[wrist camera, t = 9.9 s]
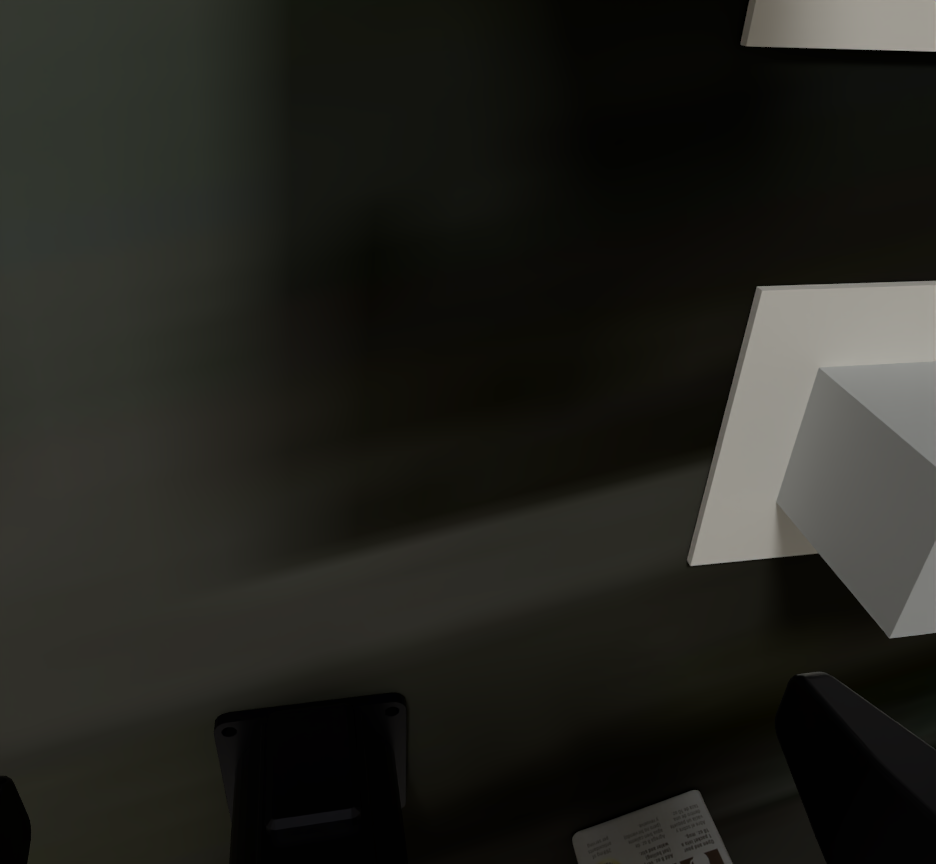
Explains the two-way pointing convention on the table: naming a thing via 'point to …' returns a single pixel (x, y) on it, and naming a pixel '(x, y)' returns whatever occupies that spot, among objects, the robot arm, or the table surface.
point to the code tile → (842, 24)
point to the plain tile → (795, 400)
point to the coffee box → (655, 836)
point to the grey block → (871, 487)
